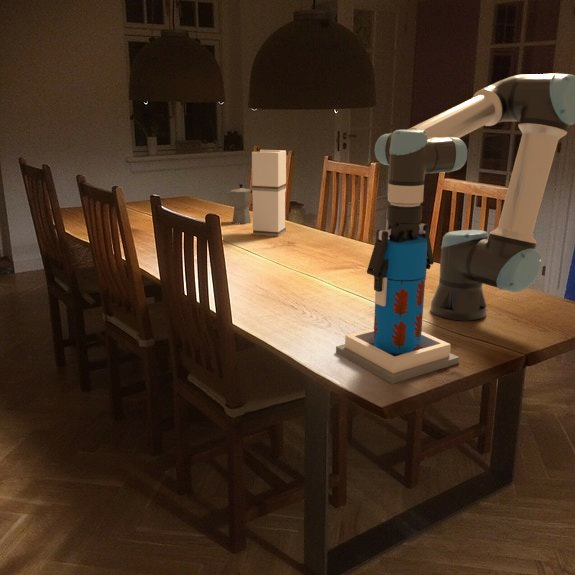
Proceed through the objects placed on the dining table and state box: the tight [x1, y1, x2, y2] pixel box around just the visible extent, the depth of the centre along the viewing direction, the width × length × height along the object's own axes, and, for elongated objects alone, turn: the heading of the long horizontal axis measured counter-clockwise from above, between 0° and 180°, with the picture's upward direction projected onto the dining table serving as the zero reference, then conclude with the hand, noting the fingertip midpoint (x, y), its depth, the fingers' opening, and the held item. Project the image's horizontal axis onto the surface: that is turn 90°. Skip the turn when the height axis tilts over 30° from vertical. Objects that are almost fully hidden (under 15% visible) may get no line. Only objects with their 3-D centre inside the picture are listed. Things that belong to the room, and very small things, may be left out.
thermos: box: [373, 235, 428, 354], centre depth 142 cm, size 11×11×25 cm
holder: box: [335, 327, 460, 385], centre depth 146 cm, size 20×20×4 cm
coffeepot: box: [227, 183, 253, 225], centre depth 294 cm, size 15×9×18 cm, turn 117°
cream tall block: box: [251, 149, 287, 238], centre depth 269 cm, size 11×11×35 cm
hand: (399, 299), depth 143 cm, fingers closed on thermos, 11 cm apart
